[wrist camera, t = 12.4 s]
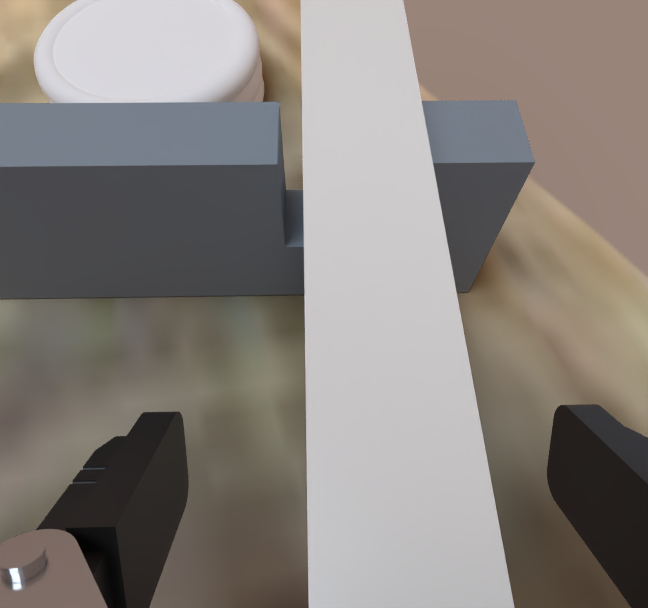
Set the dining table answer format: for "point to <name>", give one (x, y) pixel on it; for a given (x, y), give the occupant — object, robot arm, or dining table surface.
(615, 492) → the robot arm
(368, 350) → the white slotted plate
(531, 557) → the dining table surface
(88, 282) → the grey slotted plate
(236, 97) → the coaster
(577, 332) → the dining table surface
